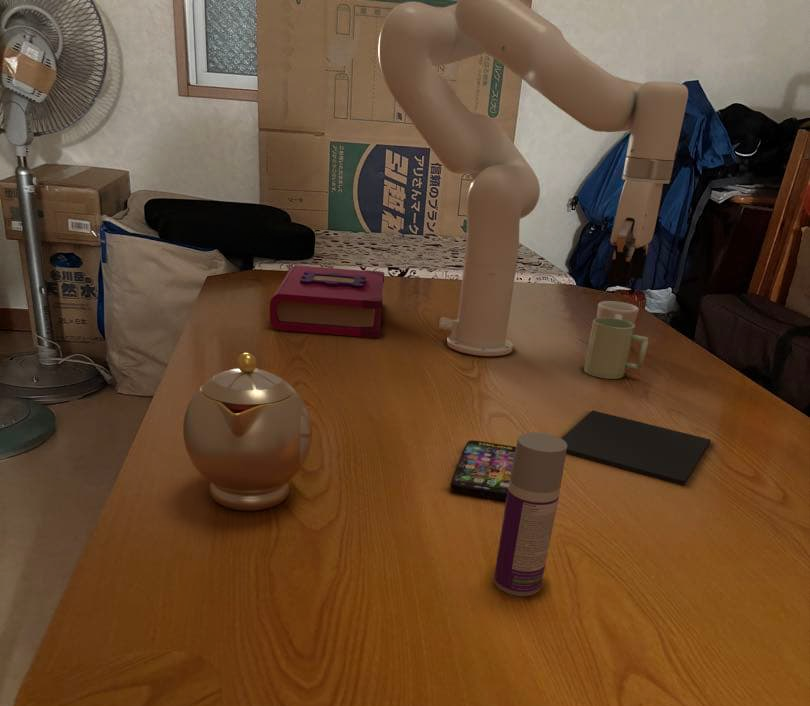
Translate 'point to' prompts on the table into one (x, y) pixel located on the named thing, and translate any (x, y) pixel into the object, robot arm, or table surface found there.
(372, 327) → the book
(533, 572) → the container
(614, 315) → the cup
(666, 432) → the mat
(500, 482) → the smartphone
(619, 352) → the mug
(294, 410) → the teapot
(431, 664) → the table surface
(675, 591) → the table surface
